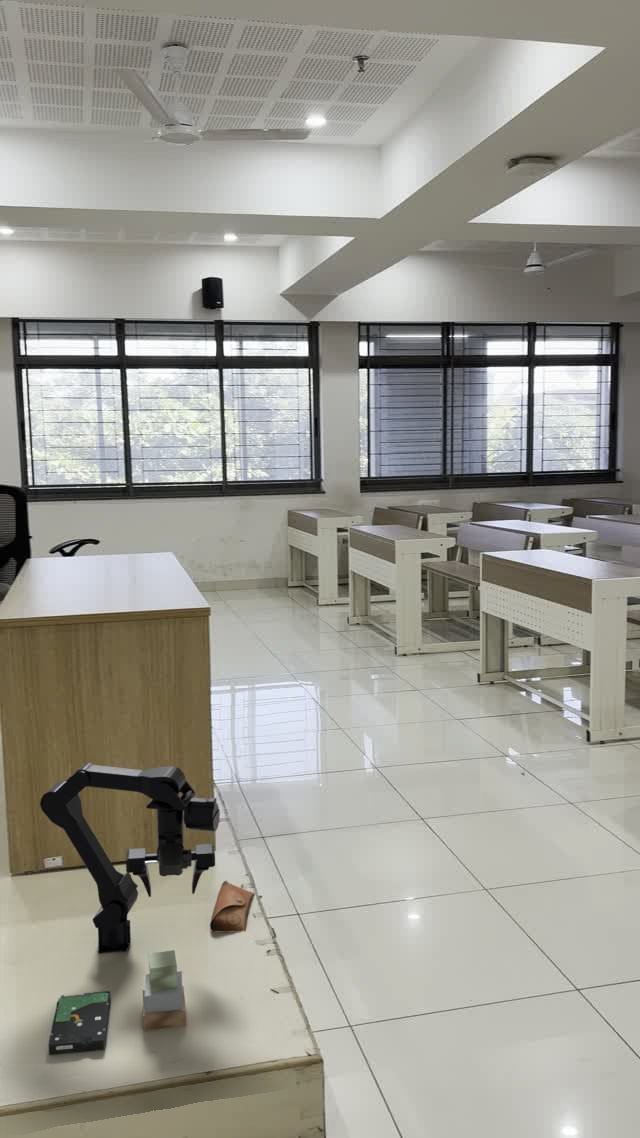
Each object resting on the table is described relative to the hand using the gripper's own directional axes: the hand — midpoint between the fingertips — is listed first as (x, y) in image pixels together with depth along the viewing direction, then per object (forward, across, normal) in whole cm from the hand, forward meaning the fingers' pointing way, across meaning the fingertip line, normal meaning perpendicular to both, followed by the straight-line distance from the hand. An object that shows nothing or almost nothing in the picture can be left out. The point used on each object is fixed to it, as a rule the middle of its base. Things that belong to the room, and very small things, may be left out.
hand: (171, 894), depth 201 cm
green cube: (+6, -2, -22) cm, 23 cm away
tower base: (+13, -2, -22) cm, 26 cm away
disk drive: (+14, -17, -23) cm, 32 cm away
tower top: (+10, -2, -22) cm, 24 cm away
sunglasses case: (+14, +14, +14) cm, 24 cm away
